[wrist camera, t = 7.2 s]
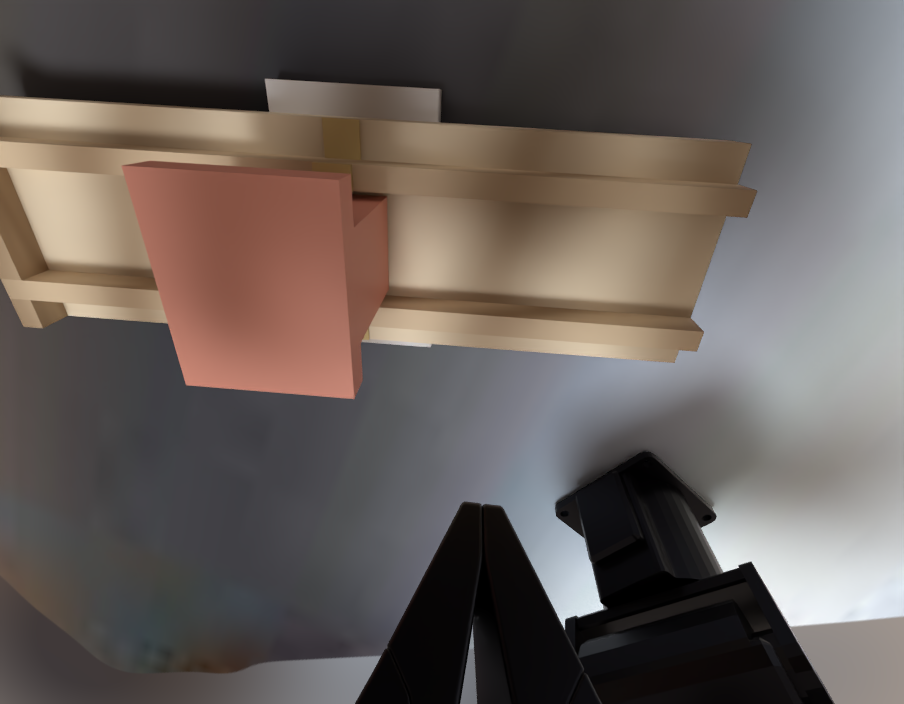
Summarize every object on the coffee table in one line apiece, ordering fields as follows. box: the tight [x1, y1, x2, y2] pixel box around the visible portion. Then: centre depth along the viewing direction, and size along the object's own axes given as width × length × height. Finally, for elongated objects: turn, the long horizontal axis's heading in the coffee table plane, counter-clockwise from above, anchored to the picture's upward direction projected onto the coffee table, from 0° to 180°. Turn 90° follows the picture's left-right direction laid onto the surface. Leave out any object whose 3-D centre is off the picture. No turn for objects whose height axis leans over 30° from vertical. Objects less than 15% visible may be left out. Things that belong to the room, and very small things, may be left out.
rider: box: [122, 161, 389, 399], centre depth 14 cm, size 5×6×5 cm
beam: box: [0, 79, 757, 363], centre depth 17 cm, size 26×10×4 cm, turn 87°
